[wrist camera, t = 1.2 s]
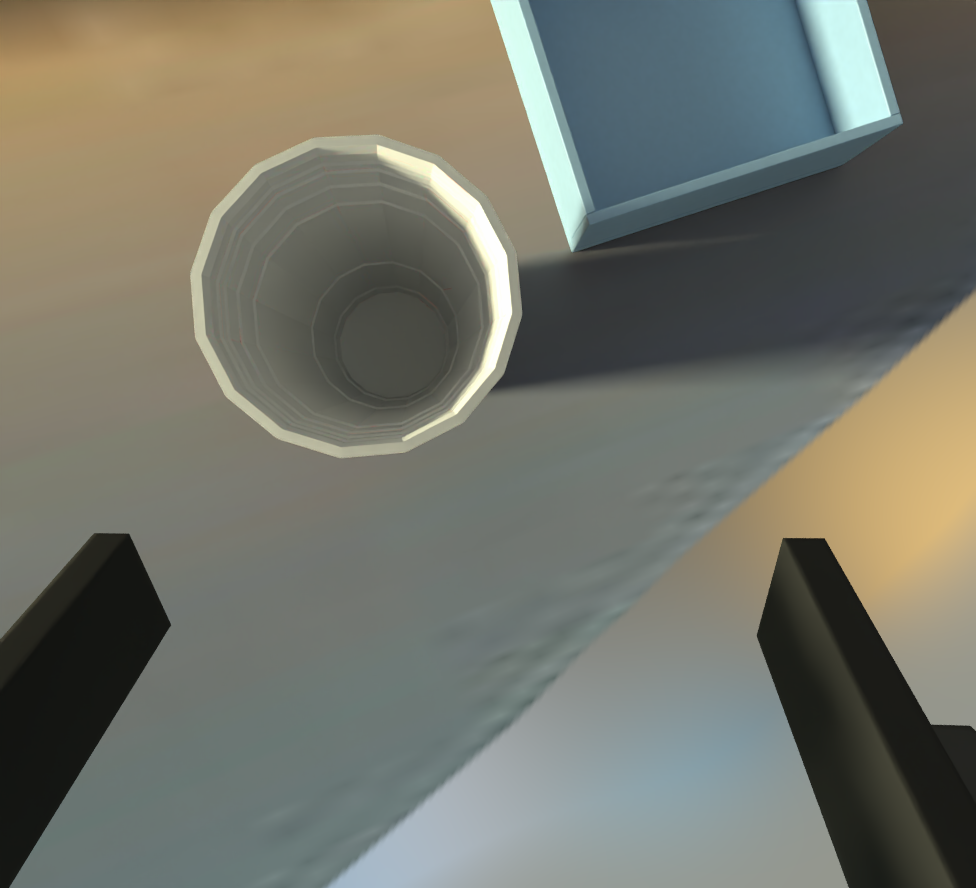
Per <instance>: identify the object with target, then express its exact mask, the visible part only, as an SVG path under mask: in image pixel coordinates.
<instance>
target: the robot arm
mask: <svg viewBox="0 0 976 888" xmlns="http://www.w3.org/2000/svg"><path fill="white" fill-rule="evenodd" d="M170 626H171V624H170V621H169V619H168V617H167V615H166V613H165V611H164V608H163V606H162V604H161V602H160V600H159V598H158V595H157V593H156V591H155V589H154V587H153V584H152V582H151V580H150V578H149V576H148V574H147V571H146V569H145V567H144V565H143V563H142V561H141V558H140V556H139V554H138V552H137V550H136V548H135V545H134V543H133V541H132V539H131V537H130V535H129V534H109V533H94V534H93V535H92V536H91V537H90V539H89V540H88V541H87V542H86V543H85V544H84V545H83V547H82V548H81V549H80V550H79V551H78V552H77V553H76V554H75V556H74V557H73V558H72V559H71V560H70V561H69V562H68V563H67V565H66V566H65V567H64V568H63V569H62V570H61V571H60V573H59V574H58V575H57V576H56V577H55V578H54V579H53V580H52V582H51V583H50V584H49V585H48V586H47V587H46V588H45V590H44V591H43V592H42V593H41V594H40V595H39V596H38V597H37V599H36V600H35V601H34V602H33V603H32V604H31V605H30V606H29V608H28V609H27V610H26V611H25V612H24V613H23V614H22V616H21V617H20V618H19V619H18V620H17V621H16V622H15V623H14V625H13V626H12V627H11V628H10V629H9V630H8V631H7V633H6V634H5V635H4V636H3V637H2V638H1V639H0V888H9V887H10V885H11V884H12V882H13V880H14V879H15V877H16V875H17V874H18V872H19V871H20V869H21V867H22V866H23V864H24V863H25V861H26V859H27V858H28V856H29V854H30V853H31V851H32V850H33V848H34V846H35V845H36V843H37V841H38V840H39V838H40V837H41V835H42V833H43V832H44V830H45V828H46V827H47V825H48V824H49V822H50V820H51V819H52V817H53V816H54V814H55V812H56V811H57V809H58V807H59V806H60V804H61V803H62V801H63V799H64V798H65V796H66V794H67V793H68V791H69V790H70V788H71V786H72V785H73V783H74V781H75V780H76V778H77V777H78V775H79V773H80V772H81V770H82V768H83V767H84V765H85V764H86V762H87V760H88V759H89V757H90V756H91V754H92V752H93V751H94V749H95V747H96V746H97V744H98V743H99V741H100V739H101V738H102V736H103V734H104V733H105V731H106V730H107V728H108V726H109V725H110V723H111V721H112V720H113V718H114V717H115V715H116V713H117V712H118V710H119V709H120V707H121V705H122V704H123V702H124V700H125V699H126V697H127V696H128V694H129V692H130V691H131V689H132V687H133V686H134V684H135V683H136V681H137V679H138V678H139V676H140V674H141V673H142V671H143V670H144V668H145V666H146V665H147V663H148V661H149V660H150V658H151V657H152V655H153V653H154V652H155V650H156V649H157V647H158V645H159V644H160V642H161V640H162V639H163V637H164V636H165V634H166V632H167V631H168V629H169V627H170ZM757 638H758V641H759V643H760V646H761V649H762V652H763V654H764V657H765V660H766V663H767V665H768V668H769V671H770V673H771V676H772V679H773V682H774V684H775V687H776V690H777V693H778V695H779V698H780V701H781V704H782V706H783V709H784V712H785V715H786V717H787V720H788V723H789V725H790V728H791V731H792V734H793V736H794V739H795V742H796V744H797V747H798V750H799V752H800V755H801V758H802V761H803V763H804V766H805V769H806V772H807V774H808V777H809V780H810V783H811V785H812V788H813V791H814V794H815V796H816V799H817V802H818V805H819V807H820V810H821V813H822V815H823V818H824V821H825V824H826V827H827V829H828V832H829V835H830V837H831V840H832V843H833V846H834V848H835V851H836V854H837V857H838V859H839V862H840V865H841V868H842V870H843V873H844V876H845V878H846V881H847V884H848V887H849V888H976V731H975V730H974V729H973V728H972V727H971V726H955V725H931V724H930V722H929V721H928V719H927V717H926V715H925V714H924V712H923V711H922V708H921V706H920V705H919V703H918V702H917V699H916V698H915V696H914V695H913V692H912V691H911V689H910V687H909V686H908V684H907V682H906V680H905V679H904V677H903V675H902V673H901V672H900V670H899V668H898V666H897V664H896V663H895V661H894V659H893V657H892V656H891V654H890V652H889V651H888V649H887V647H886V645H885V643H884V642H883V640H882V638H881V636H880V635H879V633H878V631H877V629H876V628H875V626H874V624H873V622H872V621H871V619H870V617H869V615H868V614H867V612H866V610H865V609H864V607H863V605H862V603H861V601H860V600H859V598H858V596H857V594H856V593H855V591H854V589H853V587H852V586H851V584H850V582H849V580H848V579H847V577H846V575H845V574H844V572H843V570H842V568H841V566H840V565H839V563H838V561H837V559H836V558H835V556H834V554H833V552H832V551H831V549H830V547H829V546H828V544H827V542H826V540H825V539H824V538H783V540H782V544H781V547H780V551H779V555H778V559H777V562H776V566H775V570H774V573H773V577H772V581H771V585H770V588H769V592H768V596H767V599H766V603H765V607H764V610H763V614H762V618H761V622H760V626H759V630H758V633H757Z"/></svg>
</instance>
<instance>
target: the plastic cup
mask: <svg viewBox="0 0 976 888" xmlns="http://www.w3.org/2000/svg"><path fill="white" fill-rule="evenodd" d="M190 277H191V290H192V303H193V316H194V329H195V339H196V341H197V343H198V344H199V346H200V348H201V350H202V352H203V354H204V356H205V358H206V360H207V362H208V364H209V365H210V367H211V369H212V371H213V373H214V375H215V377H216V379H217V381H218V383H219V384H220V386H221V388H222V390H223V392H224V394H225V396H226V397H227V398H228V399H229V400H231V401H232V402H233V403H234V404H236V405H237V406H238V407H239V408H240V409H242V410H243V411H244V412H245V413H246V414H248V415H249V416H250V417H251V418H253V419H254V420H255V421H256V422H257V423H259V424H260V425H261V426H262V427H263V428H265V429H266V430H267V431H268V432H270V433H271V434H272V435H273V436H274V437H276V438H277V439H280V440H283V441H286V442H289V443H293V444H296V445H299V446H302V447H306V448H309V449H312V450H315V451H319V452H322V453H325V454H328V455H332V456H335V457H338V458H349V457H360V456H371V455H382V454H393V453H404V452H408V451H410V450H411V449H413V448H415V447H417V446H419V445H421V444H423V443H425V442H427V441H429V440H431V439H433V438H435V437H436V436H438V435H440V434H442V433H444V432H446V431H448V430H450V429H452V428H454V427H456V426H458V425H460V424H462V423H463V422H464V421H465V420H466V419H467V418H468V416H469V415H470V414H471V413H472V412H473V410H474V409H475V408H476V407H477V406H478V404H479V403H480V402H481V401H482V400H483V398H484V397H485V396H486V395H487V394H488V392H489V391H490V390H491V389H492V388H493V387H494V385H495V384H496V383H497V382H498V381H499V379H500V378H501V377H502V376H503V375H504V372H505V369H506V366H507V362H508V359H509V356H510V353H511V350H512V346H513V343H514V340H515V337H516V333H517V330H518V327H519V324H520V321H521V317H522V305H521V294H520V284H519V273H518V263H517V252H516V250H515V248H514V247H513V245H512V243H511V241H510V239H509V237H508V235H507V233H506V231H505V229H504V227H503V226H502V224H501V222H500V220H499V218H498V216H497V214H496V212H495V210H494V208H493V207H492V205H491V203H490V201H489V199H488V197H487V196H486V195H485V194H484V193H482V192H481V191H480V190H479V189H478V188H477V187H475V186H474V185H473V184H472V183H471V182H470V181H468V180H467V179H466V178H465V177H464V176H463V175H461V174H460V173H459V172H458V171H457V170H456V169H454V168H453V167H452V166H451V165H450V164H448V163H447V162H446V161H445V160H444V159H443V158H441V157H440V156H439V155H437V154H434V153H431V152H428V151H425V150H422V149H419V148H416V147H413V146H410V145H407V144H404V143H401V142H399V141H396V140H393V139H390V138H387V137H384V136H381V135H357V136H336V137H315V138H312V139H309V140H307V141H305V142H303V143H301V144H299V145H296V146H294V147H292V148H290V149H288V150H286V151H283V152H281V153H279V154H277V155H275V156H273V157H270V158H268V159H266V160H264V161H262V162H260V163H257V164H255V165H254V166H253V167H252V168H251V170H250V171H249V172H248V173H247V174H246V175H245V176H244V177H243V178H242V179H241V180H240V182H239V183H238V184H237V185H236V186H235V187H234V188H233V189H232V190H231V191H230V192H229V194H228V195H227V196H226V197H225V198H224V199H223V200H222V201H221V202H220V203H219V205H218V206H217V207H216V208H215V209H214V210H213V211H212V212H211V215H210V218H209V221H208V224H207V226H206V229H205V232H204V235H203V238H202V241H201V244H200V247H199V249H198V252H197V255H196V258H195V261H194V264H193V267H192V270H191V272H190Z"/></svg>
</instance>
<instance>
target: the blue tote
mask: <svg viewBox="0 0 976 888" xmlns="http://www.w3.org/2000/svg"><path fill="white" fill-rule="evenodd" d="M491 3H492V6H493V9H494V13H495V16H496V19H497V22H498V25H499V28H500V31H501V34H502V37H503V41H504V44H505V47H506V50H507V53H508V56H509V59H510V62H511V65H512V69H513V72H514V75H515V78H516V81H517V84H518V87H519V90H520V93H521V96H522V100H523V103H524V106H525V109H526V112H527V115H528V118H529V121H530V124H531V128H532V131H533V134H534V137H535V140H536V143H537V146H538V149H539V152H540V156H541V159H542V162H543V165H544V168H545V171H546V174H547V177H548V180H549V183H550V187H551V190H552V193H553V196H554V199H555V202H556V205H557V208H558V211H559V215H560V218H561V221H562V224H563V227H564V230H565V233H566V236H567V239H568V242H569V246H570V249H571V251H572V252H576V251H579V250H582V249H586V248H589V247H592V246H595V245H598V244H601V243H604V242H607V241H610V240H613V239H616V238H619V237H623V236H626V235H629V234H632V233H635V232H638V231H641V230H644V229H647V228H650V227H653V226H656V225H660V224H663V223H666V222H669V221H672V220H675V219H678V218H681V217H684V216H687V215H690V214H693V213H696V212H700V211H703V210H706V209H709V208H712V207H715V206H718V205H721V204H724V203H727V202H730V201H733V200H737V199H740V198H743V197H746V196H749V195H752V194H755V193H758V192H761V191H764V190H767V189H770V188H774V187H777V186H780V185H783V184H786V183H789V182H792V181H795V180H798V179H801V178H804V177H807V176H811V175H814V174H817V173H820V172H823V171H826V170H829V169H832V168H835V167H838V166H841V165H843V164H845V163H846V162H848V161H849V160H850V159H852V158H854V157H855V156H857V155H858V154H860V153H861V152H863V151H864V150H865V149H867V148H868V147H870V146H871V145H873V144H874V143H876V142H877V141H879V140H880V139H881V138H883V137H884V136H886V135H887V134H889V133H890V132H892V131H893V130H895V129H896V128H898V127H899V126H900V125H902V124H903V120H902V117H901V114H899V113H900V110H899V107H898V104H897V100H896V97H895V93H894V90H893V87H892V83H891V80H890V77H889V73H888V70H887V67H886V63H885V60H884V57H883V53H882V50H881V46H880V43H879V40H878V36H877V33H876V30H875V26H874V23H873V20H872V16H871V13H870V10H869V6H868V3H867V0H491Z"/></svg>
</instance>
